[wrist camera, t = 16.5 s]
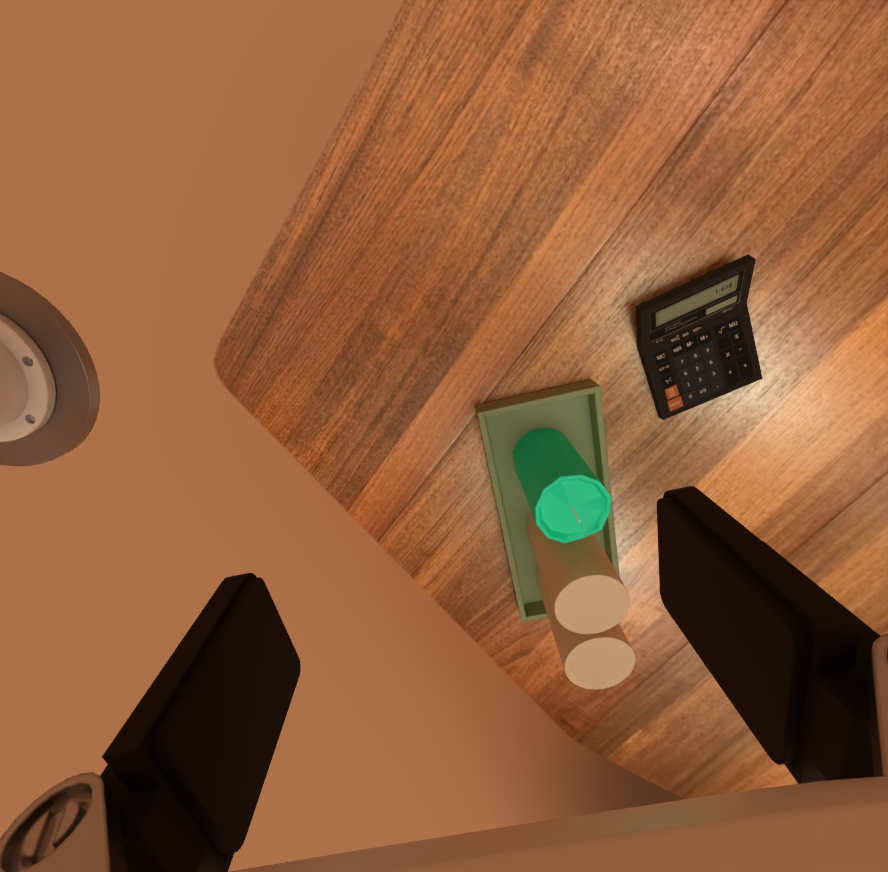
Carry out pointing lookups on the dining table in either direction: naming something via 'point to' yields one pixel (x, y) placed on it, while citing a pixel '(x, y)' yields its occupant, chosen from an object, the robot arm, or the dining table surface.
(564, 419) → the tray
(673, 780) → the dining table surface
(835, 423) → the dining table surface
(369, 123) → the dining table surface
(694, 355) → the calculator
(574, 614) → the cream candle
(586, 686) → the cream candle
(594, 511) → the candle
